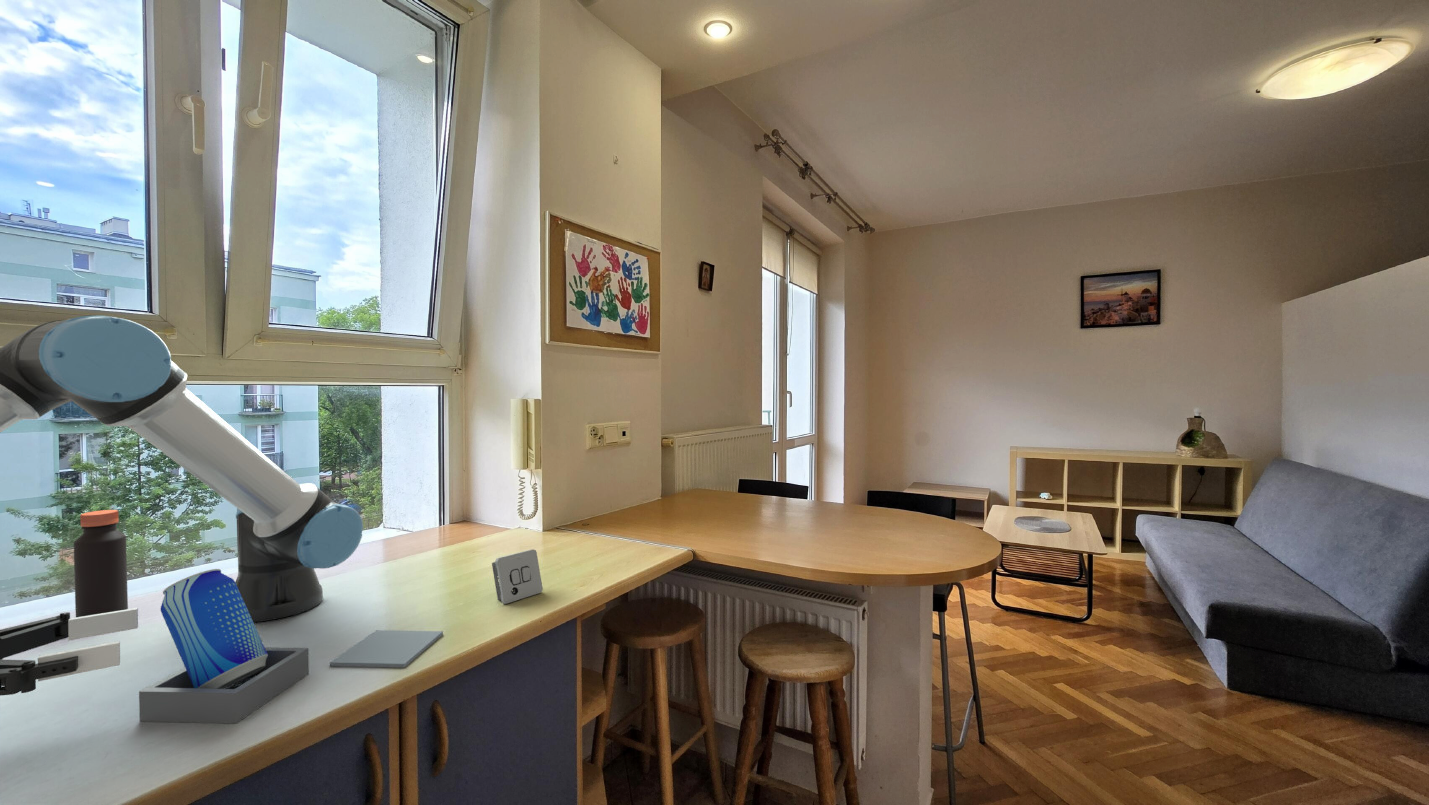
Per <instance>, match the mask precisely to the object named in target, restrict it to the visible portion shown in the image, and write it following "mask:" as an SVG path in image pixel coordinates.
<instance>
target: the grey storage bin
mask: <svg viewBox="0 0 1429 805" xmlns="http://www.w3.org/2000/svg"><path fill="white" fill-rule="evenodd" d="M264 647H265V649H266V651H267V654H268V656H267V659H266V662H265V667H264V668H262V669H261V670H259V671H258V672H256V673H254V674H253V675H251V676H250V677H252V678H250V679H249V680H247V681H246V682H244V683H243V684H241V685H239V686H238V687H236V688H226V689H203V688H194V687H193V684H192V682H191V680H190V678H189V675H188V673H187V671H186V668H185V667H184V668H181V669H179V670H178V671H175V672H173V673H172V674H170V675H168V676H166V677H163V678H162V679H160V680H158V681H156V682H155V683H153V684H151V685H149V686H147V687H145V688H143V689H141V690H139V691H138V701H139V702H138V703H139V709H138V710H139V722H156V723H201V724H202V723H203V724H205V723H207V724H208V723H209V724H238V723H239V722H241V721H242V720H243V719H245V718H247V717H248V716H249V715H251V714H253V713H254V712H255V711H256V710H259V708H261V707H262V706H264V705H266V704H267V703H269V702H270V701H271V700H273V699H274V698H276V697H278V695H280V694H282V693H283V692H284V691H286V690H288V689H289V688H291V687H292V686H293V685H295V684H297V683H298V682H299V681H301V680H302V679H303V678H305V677H307V676H308V675H309V674H310V669H309V668H310V666H309V664H310V660H309V658H310V657H309V656H310V655H309V648H308V647H269V646H268V647H267V646H264Z"/></svg>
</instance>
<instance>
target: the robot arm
mask: <svg viewBox="0 0 1429 805" xmlns="http://www.w3.org/2000/svg"><path fill="white" fill-rule="evenodd" d="M187 379H188V374H187V373H186V372H185V371H184V370H183V369H182V368H180V367H179V366H178V365H177V364H176V363H175V362H173V361H172V355H171V352H170V350H169V348H168V345H166V343H165V342H164V341H163V340H162V338H161V337H160V336H159V335H158V334H156V333H155V332H154V331H153V330H151V329H149V328H148V327H146V326H144V325H143V324H140V323H138V322H135V321H132V320H129V319H126V318H121V317H117V316H116V317H115V316H109V315H94V314H93V315H83V316H77V317H73V318H69V319H59V320H52V321H47V322H44V323H43V322H42V323H40V324H38V325H35V326H33V327H31V328H29V329H27V330H26V331H25V332H23V333H21V334H19V335H18V336H16V337H15V338H13V339H12V340H11V341H9V342H8V343H6V344H5V345H2V346H1V347H0V433H1V432H3V431H5V430H6V429H8V428H10V427H12V426H13V425H15V424H16V423H18V422H19V421H23V420H38V419H39V418H41V417H43V416H44V415H46V414H48V413H49V412H51V411H52V410H55V409H57V408H59V407H61V406H63V405H64V404H65V405H66V404H67V403H70V402H73V403H74V404H76V405H77V406H78V407H79V408H81V409H82V410H84V411H85V412H87V413H88V414H90V416H92V417H93V418H95V419H96V420H98V421H99V422H101V423H102V424H103V425H104V426H107V427H128V428H130V429H131V430H132V431H133V432H135V433H136V434H137V435H139V436H140V437H142V438H143V439H144V440H145V441H147V442H148V443H150V445H152V446H154V447H155V448H156V449H157V450H159V451H161V453H163V454H164V455H166V457H168V458H169V459H171V460H172V461H174V462H175V463H176V464H177V465H179V466H180V467H181V468H183V469H185V470H186V471H187V472H188V473H190V475H192V476H194V477H195V478H196V479H197V480H199V481H200V482H202V483H203V484H205V486H207V487H208V488H209V489H211V490H212V491H213V492H215V493H217V495H219V496H220V497H221V498H223V499H224V500H226V501H227V502H229V503H230V504H231V505H232V506H234V507H235V508H236V514H235V518H236V537H237V542H236V543H237V577H236V580H235V583H236V585H237V587H238V590H239V592H240V594H241V596H242V598H243V601H244V603H245V605H246V607H247V609H248V612H249V614H250V616H251V618H252V620H253V623H255V622H256V623H257V622H267V621H271V620H278V619H282V618H287V617H291V616H294V615H298V614H301V613H304V612H305V611H309V610H311V609H313V608H315V607H317V606H318V605H320V604H321V603H322V602H323V599H324V596H323V595H324V593H323V592H324V591H323V586H322V585H321V584H320V580H319V578H318V576H317V573H316V571H315V569H321V570H323V569H330V568H333V567H337V566H339V565H340V564H342V563H344V562H345V561H347V560H348V559H349V558H351V556H352V555H353V554H354V553H355V551H356V550H357V548H358V547H359V545H360V543H361V541H362V538H363V529H364V524H363V519H362V517H361V515H360V514H359V512H358V511H357V510H355V509H354V508H353V507H351V506H349V505H347V504H344V503H337V502H335V501H334V500H333V499H332V498H331V497H329V496H328V495H327V494H326V493H325V492H323V491H322V490H321V489H320V488H319V487H318V486H317V485H315V484H314V483H308V482H307V483H298V482H297V481H296V480H295V479H293V478H292V477H291V476H290V475H289V474H287V473H286V472H285V470H283V468H280V467H279V465H277V464H276V463H274V461H273V460H271V459H270V458H269V457H268V456H267V455H266V454H264V453H263V452H262V451H261V450H260V449H258V447H256V446H255V445H254V444H252V443H251V442H250V441H249V440H248V439H246V437H244V436H243V435H242V434H241V433H240V432H239V431H237V430H236V429H235V428H234V427H232V425H230V424H229V423H228V422H226V421H225V420H224V419H223V418H222V417H221V416H219V415H218V414H217V413H216V412H214V411H213V410H212V409H211V408H210V407H209V406H208V405H206V404H205V402H204V401H202V400H201V399H199V398H198V397H197V396H196V395H195V394H194V393H192V392H191V391H190V390H188V388H187ZM138 628H139V607H133V608H128V609H126V610H120V611H114V612H108V613H101V614H95V615H89V616H83V617H76V616H75V617H71V612H69V611H68V612H61V613H59V615H58V614H57V615H56V616H51V617H47V618H43V619H39V620H35V621H31V622H26V623H23V624H18V625H14V626H9V627H5V628H2V629H0V697H1V696H11V695H12V696H13V695H16V694H19V693H20V694H25V693H29V692H33V691H34V690H36V689H37V687H36V685H37V683H36V682H43V681H47V680H52V679H57V678H62V677H67V676H71V675H72V676H73V675H76V674H77V675H78V674H82V673H87V672H92V671H96V670H98V671H99V670H102V669H103V670H104V669H107V668H111V667H112V668H113V667H115V666H116V667H118V666H120V664H121V641H120V640H119V641H118V640H117V641H113V642H106V643H102V644H96V645H90V646H84V647H80V648H79V647H78V648H75V649H69V650H63V651H59V652H58V651H57V652H52V653H48V654H41V655H39V656H38V658H37V662H36V660H32V659H6V658H8V657H12V656H14V655H18V654H21V653H24V652H27V651H30V650H34V649H37V648H39V647H42V646H47V645H49V644H52V643H55V642H58V641H62V640H65V639H68V641H74V640H80V639H86V638H90V637H96V636H102V635H110V634H113V633H119V632H125V631H131V630H136V629H138ZM4 658H5V659H4Z"/></svg>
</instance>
